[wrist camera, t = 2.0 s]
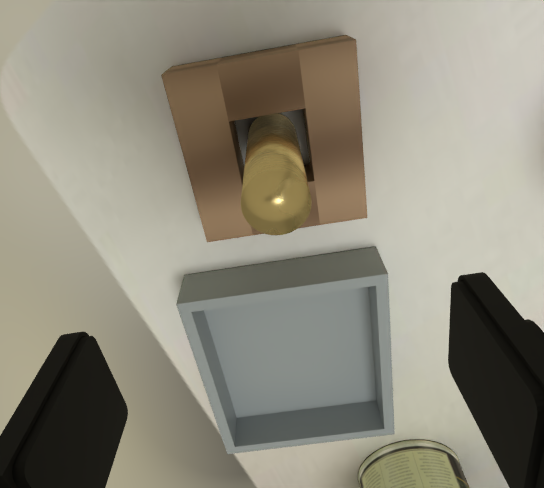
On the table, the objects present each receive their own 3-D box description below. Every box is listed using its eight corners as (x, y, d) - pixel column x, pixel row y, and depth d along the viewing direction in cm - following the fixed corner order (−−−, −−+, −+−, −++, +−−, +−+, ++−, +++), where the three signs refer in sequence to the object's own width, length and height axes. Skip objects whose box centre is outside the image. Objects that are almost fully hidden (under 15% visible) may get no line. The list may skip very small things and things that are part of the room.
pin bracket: (171, 66, 25) (161, 74, 23) (346, 35, 24) (356, 39, 22) (212, 220, 30) (207, 242, 27) (358, 197, 29) (367, 217, 27)
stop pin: (243, 117, 27) (234, 176, 18) (292, 108, 26) (306, 164, 18) (252, 163, 28) (248, 239, 19) (299, 156, 28) (315, 229, 19)
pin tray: (184, 275, 32) (176, 304, 29) (375, 246, 31) (387, 273, 28) (230, 419, 40) (227, 454, 37) (384, 399, 39) (394, 434, 36)
